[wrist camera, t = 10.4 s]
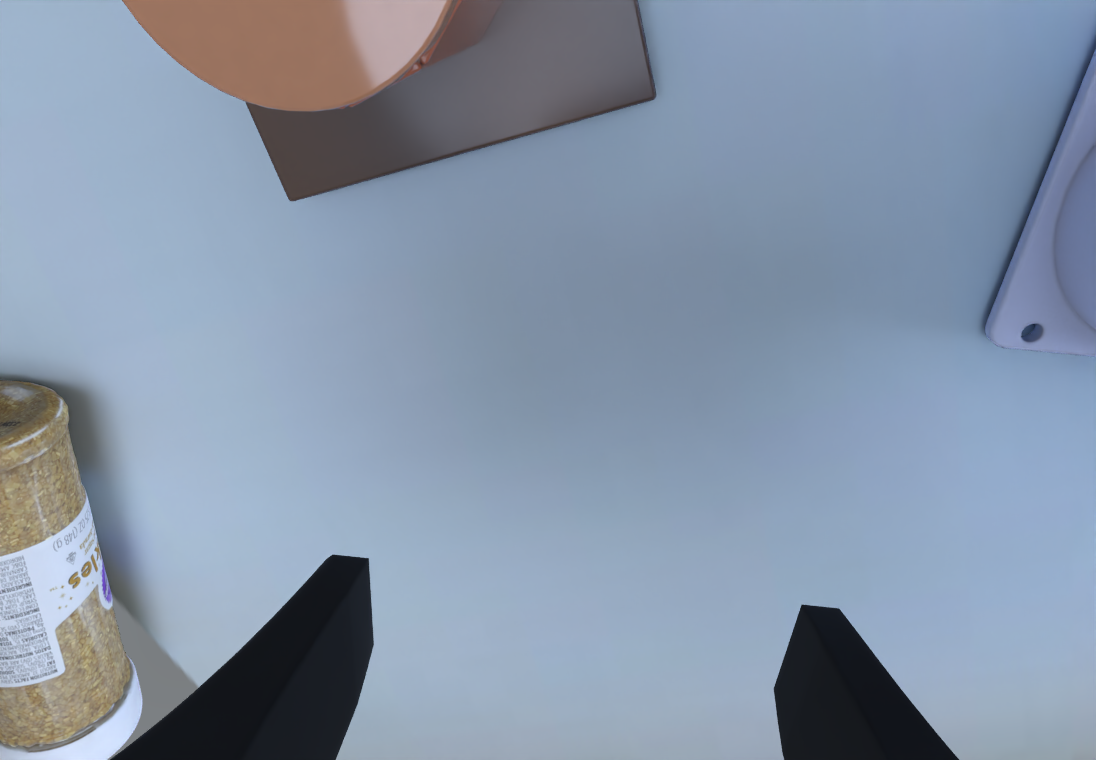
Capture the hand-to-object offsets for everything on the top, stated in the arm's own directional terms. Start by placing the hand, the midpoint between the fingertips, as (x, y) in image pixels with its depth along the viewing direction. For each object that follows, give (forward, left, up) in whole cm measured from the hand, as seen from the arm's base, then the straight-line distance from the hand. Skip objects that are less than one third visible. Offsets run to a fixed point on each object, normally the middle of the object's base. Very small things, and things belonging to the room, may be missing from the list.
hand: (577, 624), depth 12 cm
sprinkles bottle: (+17, +2, -7) cm, 18 cm away
